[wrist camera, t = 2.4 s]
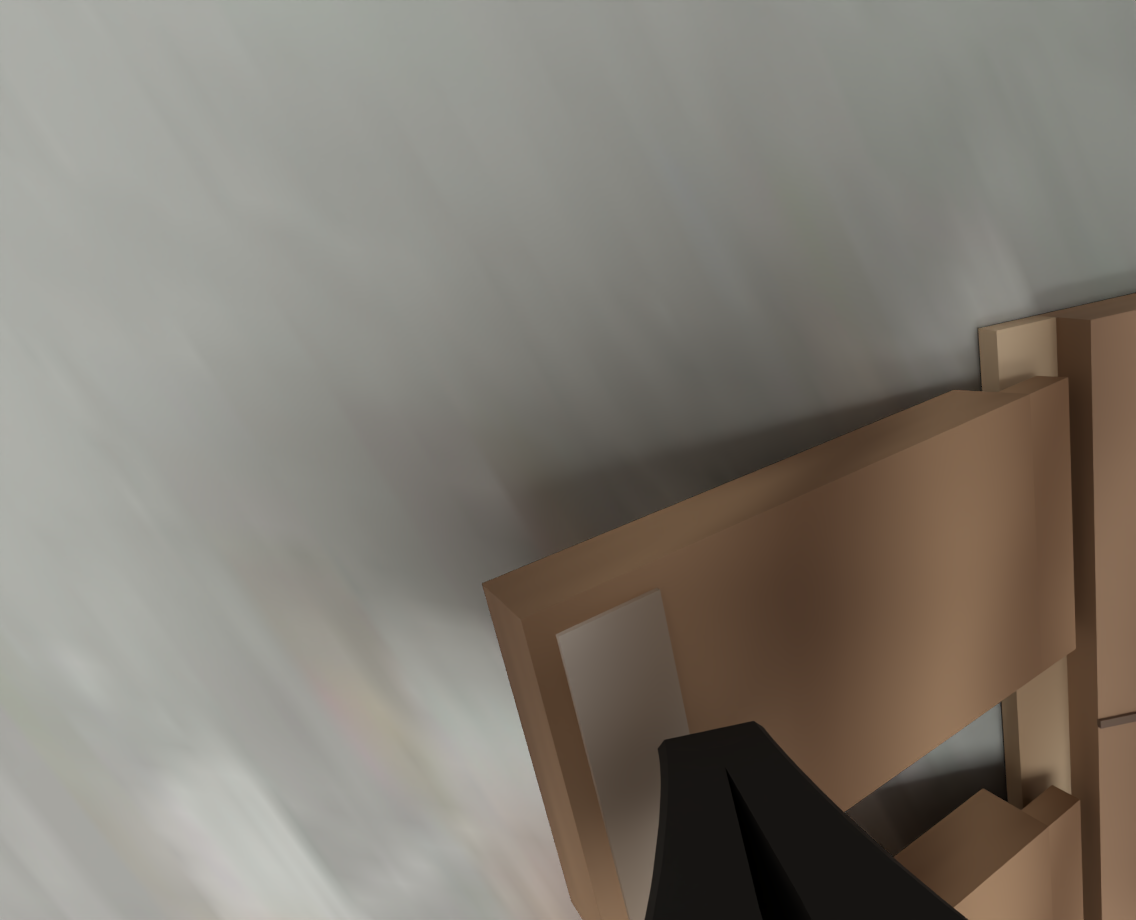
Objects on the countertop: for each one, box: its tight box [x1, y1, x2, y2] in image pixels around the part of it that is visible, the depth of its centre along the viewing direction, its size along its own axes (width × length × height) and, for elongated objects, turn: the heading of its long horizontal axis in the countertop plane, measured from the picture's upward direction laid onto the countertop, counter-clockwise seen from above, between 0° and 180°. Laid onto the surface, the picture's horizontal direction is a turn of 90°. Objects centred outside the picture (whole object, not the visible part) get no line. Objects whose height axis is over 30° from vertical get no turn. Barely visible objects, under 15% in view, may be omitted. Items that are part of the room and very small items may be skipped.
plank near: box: [482, 376, 1076, 920], centre depth 12 cm, size 12×6×2 cm, turn 102°
